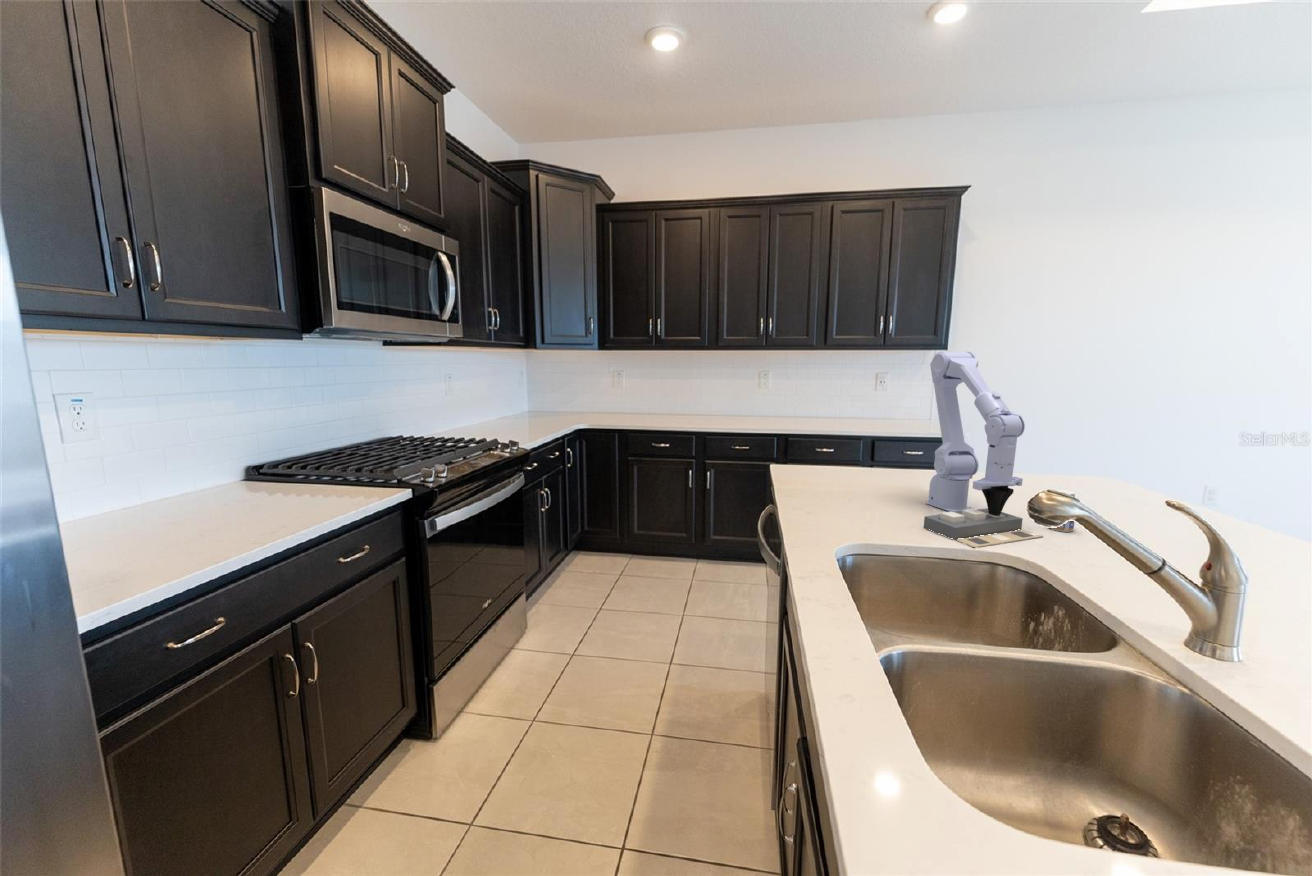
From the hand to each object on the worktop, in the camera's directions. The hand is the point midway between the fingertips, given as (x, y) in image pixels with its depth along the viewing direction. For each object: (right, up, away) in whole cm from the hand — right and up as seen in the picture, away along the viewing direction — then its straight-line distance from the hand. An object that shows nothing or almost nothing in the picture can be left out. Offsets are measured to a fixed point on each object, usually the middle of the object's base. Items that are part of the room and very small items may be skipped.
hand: (994, 514), depth 133 cm
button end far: (0, -3, +1) cm, 3 cm away
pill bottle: (+16, -4, -1) cm, 16 cm away
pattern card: (-4, -4, -9) cm, 11 cm away
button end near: (-13, -2, -4) cm, 14 cm away
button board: (-7, -3, -2) cm, 8 cm away
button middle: (-7, -2, -2) cm, 7 cm away
